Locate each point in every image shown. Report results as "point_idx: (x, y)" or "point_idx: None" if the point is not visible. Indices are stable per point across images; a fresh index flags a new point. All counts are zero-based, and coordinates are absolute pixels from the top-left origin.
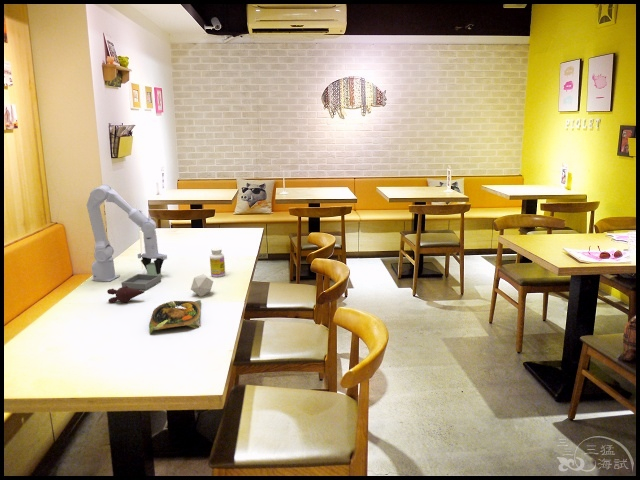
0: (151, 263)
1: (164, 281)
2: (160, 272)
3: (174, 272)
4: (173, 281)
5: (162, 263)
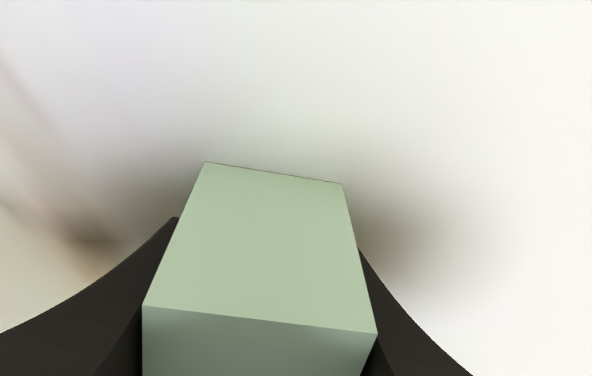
0: (189, 365)
1: None
2: (358, 251)
3: (532, 68)
4: (538, 366)
5: (449, 358)
